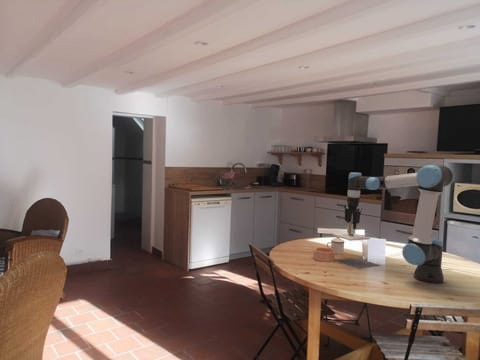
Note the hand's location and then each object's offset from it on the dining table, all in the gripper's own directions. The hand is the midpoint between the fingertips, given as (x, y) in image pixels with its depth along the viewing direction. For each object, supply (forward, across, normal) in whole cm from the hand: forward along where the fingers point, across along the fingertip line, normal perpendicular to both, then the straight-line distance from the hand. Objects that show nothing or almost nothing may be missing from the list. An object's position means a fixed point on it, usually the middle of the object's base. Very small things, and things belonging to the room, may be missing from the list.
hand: (351, 233), depth 233 cm
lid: (+3, 0, 0) cm, 3 cm away
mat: (+19, -5, -4) cm, 20 cm away
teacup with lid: (+20, +22, -8) cm, 31 cm away
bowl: (+19, +10, +12) cm, 25 cm away
